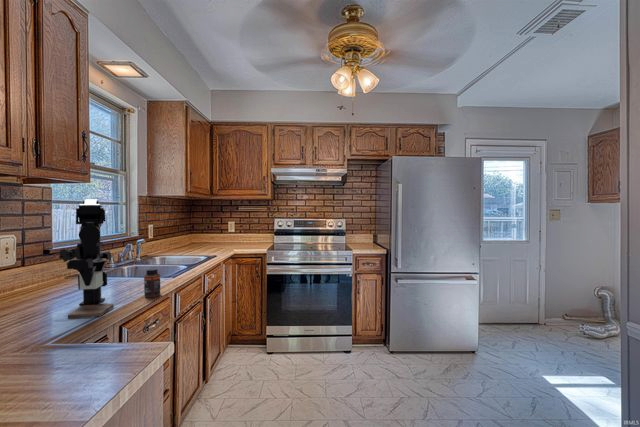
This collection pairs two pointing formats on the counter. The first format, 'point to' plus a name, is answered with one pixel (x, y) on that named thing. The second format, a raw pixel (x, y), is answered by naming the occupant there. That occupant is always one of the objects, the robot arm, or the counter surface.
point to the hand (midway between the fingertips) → (91, 283)
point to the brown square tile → (90, 310)
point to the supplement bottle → (152, 283)
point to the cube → (93, 281)
